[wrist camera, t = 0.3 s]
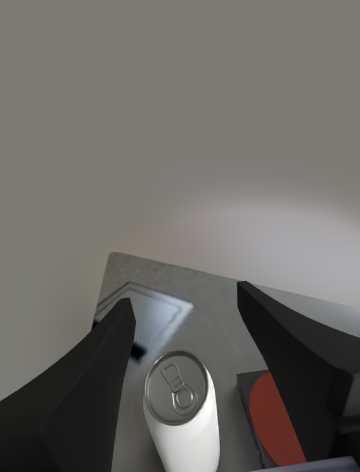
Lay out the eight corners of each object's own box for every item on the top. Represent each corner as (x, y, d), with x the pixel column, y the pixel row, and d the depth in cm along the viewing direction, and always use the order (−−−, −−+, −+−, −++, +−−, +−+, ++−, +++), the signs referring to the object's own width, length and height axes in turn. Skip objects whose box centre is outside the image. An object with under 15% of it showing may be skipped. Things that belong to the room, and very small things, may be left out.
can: (181, 519, 16) (157, 462, 11) (153, 434, 21) (129, 370, 17) (233, 458, 19) (231, 392, 14) (197, 396, 24) (187, 333, 19)
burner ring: (383, 482, 15) (383, 482, 15) (276, 498, 15) (277, 497, 15) (305, 368, 23) (306, 367, 23) (237, 378, 23) (237, 377, 23)
